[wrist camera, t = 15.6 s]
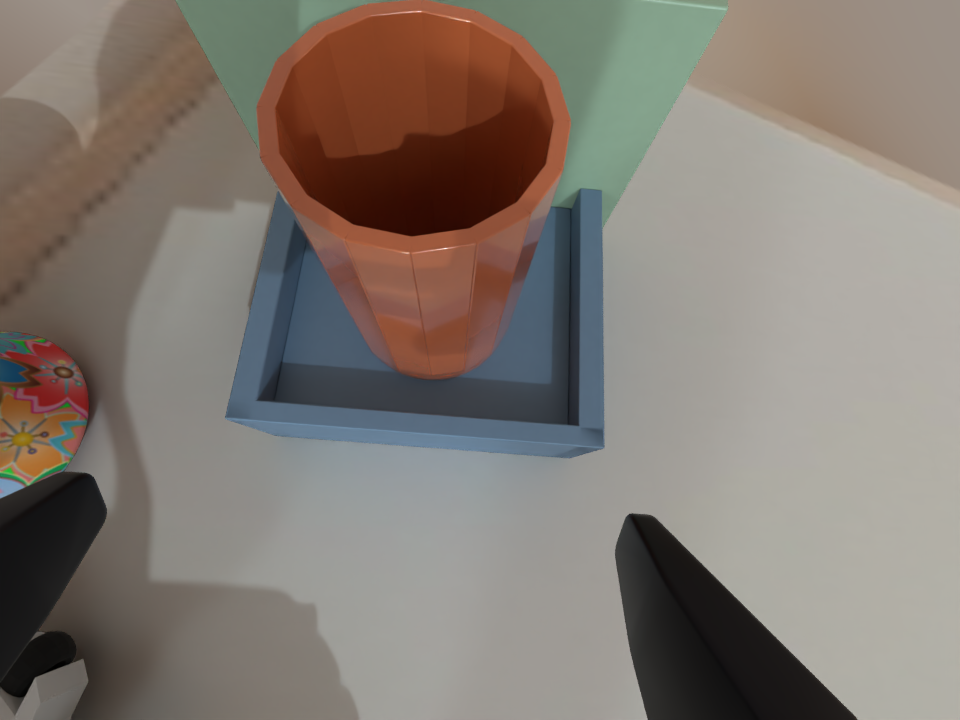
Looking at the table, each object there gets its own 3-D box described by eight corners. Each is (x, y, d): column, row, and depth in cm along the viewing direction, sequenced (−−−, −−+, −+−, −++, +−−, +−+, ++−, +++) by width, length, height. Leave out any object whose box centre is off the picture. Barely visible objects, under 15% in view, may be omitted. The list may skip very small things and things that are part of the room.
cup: (537, 290, 20) (622, 90, 10) (453, 411, 18) (457, 313, 8) (416, 214, 21) (385, -42, 11) (325, 324, 19) (186, 138, 9)
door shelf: (591, 460, 22) (779, 415, 9) (253, 434, 21) (-30, 349, 9) (591, 230, 25) (726, -22, 13) (302, 202, 25) (151, -92, 12)
